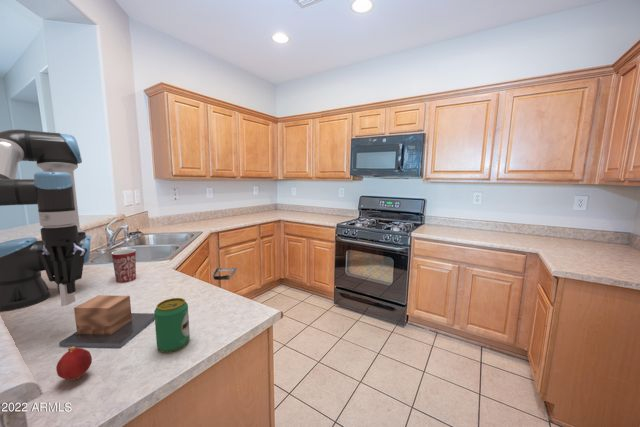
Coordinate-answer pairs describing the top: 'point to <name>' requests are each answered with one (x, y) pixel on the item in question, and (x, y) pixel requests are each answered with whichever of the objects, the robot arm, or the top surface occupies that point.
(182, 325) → the beverage can
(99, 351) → the top surface
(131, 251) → the red patterned paper cup
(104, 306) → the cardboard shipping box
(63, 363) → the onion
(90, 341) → the boss plate
